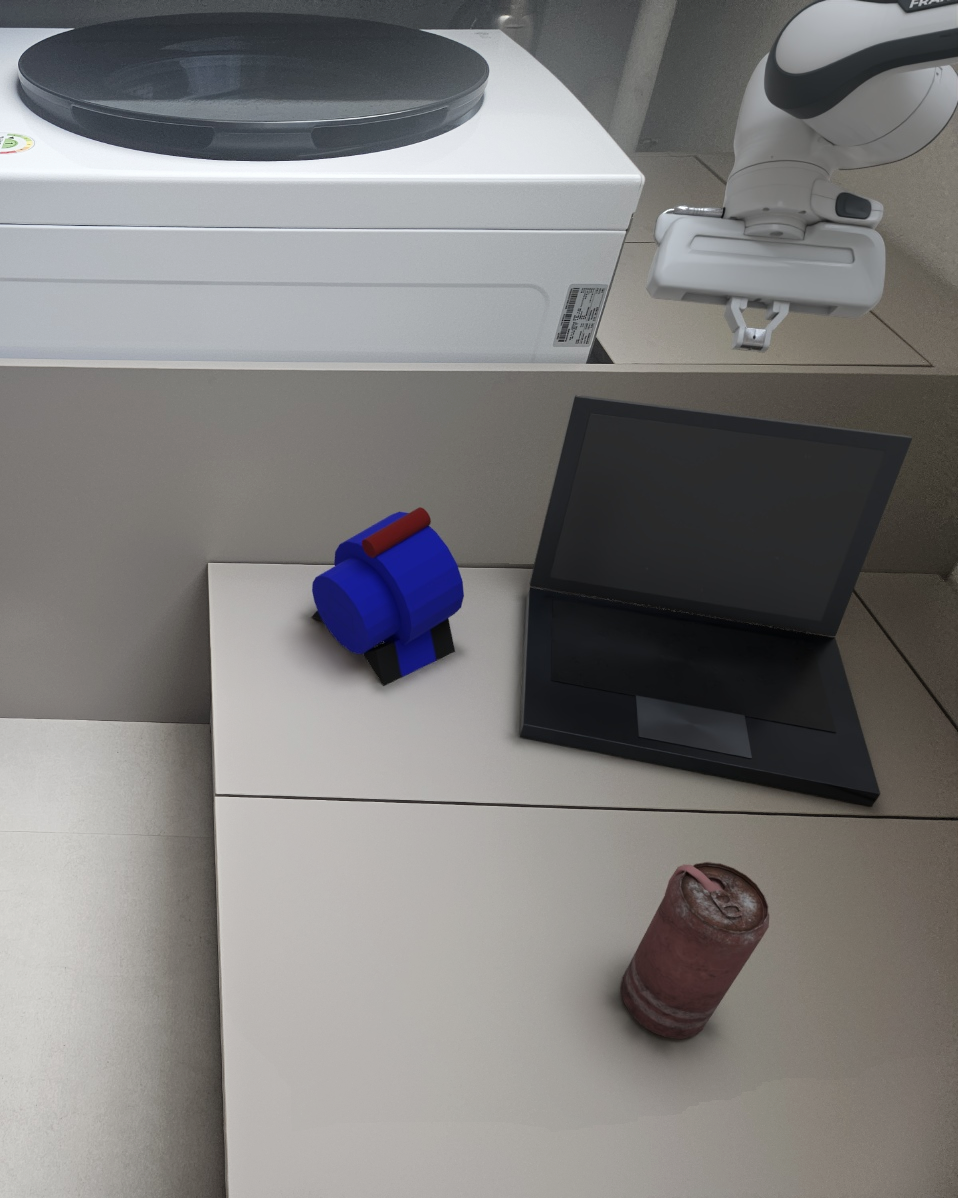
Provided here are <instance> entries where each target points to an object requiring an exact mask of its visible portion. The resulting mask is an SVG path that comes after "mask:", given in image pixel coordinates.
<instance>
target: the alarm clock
mask: <svg viewBox="0 0 958 1198" xmlns="http://www.w3.org/2000/svg"><path fill="white" fill-rule="evenodd" d="M431 522H432V520H431V516H430V514H429V513H428V511H427V510H426V509H425V508H424V507H416V509H413V510H412V511H411V512H405V511H397V512H394V513H392V514H390V515H388V516H386V517H385V518H383V519H381V520H379V521H378V522H376V523H374V524H372V525H371V526H369V527H367V528H365V529H363V530H362V531H360V532H359V533H356V534H355V535H353V536H351V537H349V538H348V539H346V540H345V541H343V542H341V543H339V545H338V546H337V548H336V550H335V551H334V561H333V562H334V563H333V565H334V566H332V567H330V568H329V569H327V570H326V571H323V573H321V574H319V575H317V576H315V578H314V579H313V581H312V585H311V592H312V597H313V602H314V604H315V607H316V611H315V612H314V613H313V614H312V616H311V618H313V619H317V620H319V621H322V622H323V624H324V626H325V627H326V628H327V630H328V631H329V632H330V634H331V635H332V637H333V638H335V640H336V641H337V642H338V643H339V644H340V645H341V646H342V647H344V649H346V650H347V651H349V652H351V653H353V654H356V655H362V656H363V657H364V659H365V660H366V662H367V663H368V665H369V666H370V668H371V669H372V671H373V673H374V674H375V675H376V677H377V678H378V680H379V681H380V683H381V685H382V686H383V687H385V686H386V685H389V684H391V683H393V682H395V681H397V680H399V679H401V678H403V677H405V676H408V675H409V674H412V673H413V672H416V671H418V670H420V669H422V668H424V667H425V666H428V665H430V664H432V663H434V662H436V661H438V660H440V659H442V658H445V657H446V656H447V657H448V655H451V654H453V653H454V652H456V650H455V649H456V647H455V644H454V639H453V633H452V629H451V624H450V620H449V618H451V617H452V616H454V615H455V614H456V613H458V611H459V610H460V609H462V606H463V602H464V598H465V592H464V591H465V590H464V581H463V578H462V574H461V573H460V569H459V565H458V563H457V561H456V560H455V558H454V556H453V554H452V552H451V550H450V549H449V547H448V546H447V544H446V543H445V541H444V540H443V539H442V537H440V535H439V533H438V532H437V531H436V530H435V529H433V528H432V527H431V524H432V523H431Z"/></svg>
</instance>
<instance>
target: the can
mask: <svg viewBox="0 0 958 1198" xmlns="http://www.w3.org/2000/svg"><path fill="white" fill-rule="evenodd" d="M769 928H770V912H769V904H768V902H767V898H766V896H765V894H764V893H763V891H762V890H761V888H760V887H759V885H758V884H757V883H756V882H755V881H753V880H752V879H751V878H750V877H749V876H748V875H747V874H744V873H743V872H741V871H740V870H738V869H736V868H734V867H732V866H729V865H726V864H723V863H721V862H720V863H719V862H710V861H704V862H697V863H694V864H682V865H679V866H677V868H676V869H675V870H674V872H673V874H672V875H671V877H670V878H669V879H668V882H667V886H666V889H665V892H664V895H663V898H662V900H661V902H660V904H659V906H658V907H657V910H656V911H655V914H654V915H653V917H652V920H651V921H650V923H649V925H648V927H647V929H646V931H645V932H644V935H643V936H642V939H641V940H640V942H639V944H638V945H637V948H636V950H635V952H634V954H633V956H632V958H631V960H630V962H629V964H628V966H627V968H626V969H625V971H624V974H623V975H622V977H621V983H620V992H621V996H622V1001H623V1002H624V1004H625V1006H626V1008H627V1010H628V1012H629V1013H630V1015H631V1016H632V1017H633V1018H634V1019H635V1020H636V1021H637V1022H638V1023H639V1025H641V1026H642V1027H644V1028H645V1029H647V1030H648V1031H650V1032H651V1033H654V1034H656V1035H659V1036H661V1037H663V1038H671V1039H678V1040H681V1039H686V1038H692V1037H695V1036H696V1035H697V1034H699V1033H700V1032H702V1031H703V1030H704V1028H705V1026H706V1025H707V1023H708V1022H709V1021H710V1019H711V1017H712V1016H713V1014H714V1013H715V1011H716V1010H717V1008H718V1006H719V1005H720V1003H721V1002H722V1001H723V999H724V998H725V996H726V994H727V993H728V991H729V990H730V988H731V986H732V985H733V983H734V982H735V980H736V979H737V977H738V976H739V974H740V973H741V971H742V969H743V968H744V966H746V963H747V962H748V960H749V959H750V957H751V955H752V954H753V953H754V951H755V950H756V948H757V946H758V945H759V943H760V942H761V940H762V939H763V938H764V936H765V934H766V932H767V931H768V929H769Z"/></svg>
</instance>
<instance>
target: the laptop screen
mask: <svg viewBox="0 0 958 1198" xmlns="http://www.w3.org/2000/svg"><path fill="white" fill-rule="evenodd" d="M574 395H575V396H574ZM574 395H573V398H574V399H572V402H573V403H571V406H570V411H569V415H568V420H567V422H566V423H567V424H566V429H565V432H564V437H563V441H562V446H561V449H560V453H559V457H558V462H557V466H556V470H555V474H554V478H553V483H552V487H551V490H550V495H549V500H548V504H547V506H546V507H547V508H546V512H545V516H544V520H543V525H542V529H541V533H540V537H539V541H538V545H537V550H536V553H535V558H534V563H533V568H532V571H531V575H530V579H529V587H532V588H538V589H544V590H550V591H556V592H562V593H568V594H574V595H580V596H586V597H592V598H598V599H604V600H611V601H617V602H623V603H629V604H635V605H641V606H647V607H653V608H659V609H665V610H671V611H677V612H683V613H689V614H695V615H701V616H707V617H713V618H719V619H725V620H731V621H738V622H744V623H750V624H756V625H762V626H768V627H774V628H780V629H786V630H792V631H798V632H804V633H810V634H816V635H822V636H828V637H834V638H836V636H837V633H838V631H839V628H840V626H841V623H842V620H843V617H844V615H845V613H846V611H847V608H848V606H849V602H850V600H851V597H852V595H853V593H854V589H855V587H856V584H857V582H858V579H859V577H860V574H861V571H862V569H863V566H864V563H865V561H866V559H867V556H868V553H869V551H870V548H871V545H872V543H873V541H874V538H875V535H876V533H877V530H878V528H879V525H880V523H881V520H882V517H883V516H884V513H885V510H886V508H887V505H888V502H889V499H890V497H891V495H892V492H893V489H894V487H895V485H896V481H897V479H898V477H899V474H900V471H901V469H902V466H903V464H904V461H905V459H906V457H907V453H908V451H909V448H910V446H911V444H912V441H913V437H912V436H910V435H904V434H896V433H889V432H880V431H874V430H873V431H872V430H865V429H864V430H863V429H856V428H847V427H839V426H832V425H824V424H817V423H808V422H799V421H791V420H783V419H782V420H781V419H776V418H768V417H767V418H766V417H761V416H751V415H743V414H734V413H726V412H719V411H710V410H703V409H702V410H701V409H694V408H685V407H677V406H672V405H671V406H670V405H662V404H654V403H645V402H638V401H630V400H622V399H612V398H605V397H597V396H590V395H589V396H588V395H581V396H577V395H578V394H574Z"/></svg>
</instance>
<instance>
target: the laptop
mask: <svg viewBox="0 0 958 1198" xmlns="http://www.w3.org/2000/svg"><path fill="white" fill-rule="evenodd" d="M524 616H525V617H524V636H523V640H524V641H523V658H522V678H521V699H520V700H521V701H520V719H519V721H520V722H519V723H520V724H519V738H522V739H526V740H530V741H531V740H532V741H537V742H541V743H546V744H547V743H548V744H553V745H557V746H562V747H568V748H572V749H577V750H583V751H588V752H592V753H598V754H602V755H608V756H613V757H618V758H623V759H628V760H633V761H639V762H643V763H648V764H652V765H658V766H663V767H667V768H668V767H669V768H674V769H679V770H684V771H689V772H693V773H699V774H704V775H709V776H714V777H719V778H723V779H724V778H725V779H729V780H735V781H739V782H745V783H750V784H754V785H759V786H765V787H769V788H775V789H779V790H784V791H785V790H786V791H790V792H796V793H800V794H805V795H810V796H815V797H820V798H825V799H829V800H830V799H831V800H836V801H841V802H845V803H850V804H856V805H861V806H866V807H873V806H874V804H876V801H877V800H878V799H879V797H880V795H881V790H880V787H879V784H878V780H877V777H876V774H875V770H874V767H873V762H872V760H871V756H870V753H869V749H868V746H867V743H866V738H865V735H864V732H863V728H862V724H861V721H860V719H859V718H860V717H859V714H858V712H857V708H856V704H855V701H854V697H853V695H852V691H851V687H850V684H849V683H850V682H849V680H848V675H847V672H846V669H845V667H844V662H843V659H842V656H841V651H840V649H839V646H838V642H837V639H836V637H834V636H828V635H822V634H816V633H810V632H803V631H797V630H791V629H785V628H779V627H773V626H767V625H761V624H755V623H749V622H743V621H737V620H731V619H725V618H719V617H713V616H707V615H701V614H694V613H688V612H682V611H676V610H670V609H664V608H658V607H652V606H646V605H640V604H634V603H628V602H622V601H616V600H610V599H604V598H598V597H592V596H586V595H579V594H573V593H567V592H561V591H555V590H549V589H543V588H537V587H531V586H529V587H528V591H527V595H526V599H525V615H524Z"/></svg>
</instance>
